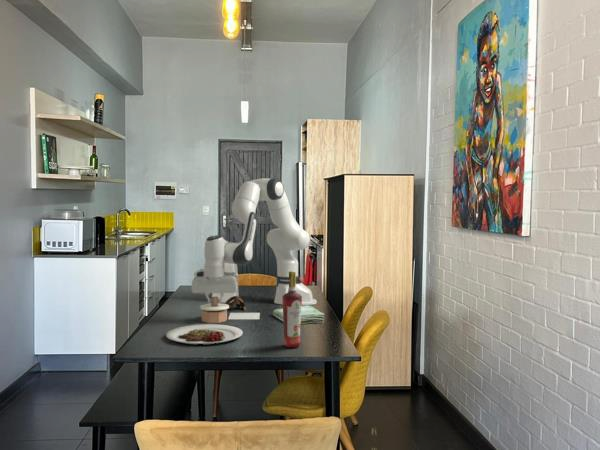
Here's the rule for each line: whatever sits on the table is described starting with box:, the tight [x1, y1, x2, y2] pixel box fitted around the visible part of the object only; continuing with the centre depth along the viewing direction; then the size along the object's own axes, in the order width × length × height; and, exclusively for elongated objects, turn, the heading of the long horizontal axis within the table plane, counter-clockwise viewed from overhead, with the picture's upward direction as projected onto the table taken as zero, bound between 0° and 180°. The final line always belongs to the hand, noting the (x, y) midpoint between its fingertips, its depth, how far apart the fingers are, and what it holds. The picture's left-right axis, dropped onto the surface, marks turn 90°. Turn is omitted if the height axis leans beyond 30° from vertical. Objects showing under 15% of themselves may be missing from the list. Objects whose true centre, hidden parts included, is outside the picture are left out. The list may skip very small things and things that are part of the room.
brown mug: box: [224, 296, 247, 311], centre depth 276 cm, size 12×10×8 cm
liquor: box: [282, 271, 303, 349], centre depth 210 cm, size 7×7×28 cm
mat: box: [227, 312, 261, 320], centre depth 261 cm, size 14×14×1 cm
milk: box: [211, 263, 240, 304], centre depth 301 cm, size 12×12×26 cm
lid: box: [199, 296, 230, 311], centre depth 252 cm, size 13×13×5 cm
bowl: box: [201, 309, 228, 324], centre depth 252 cm, size 11×11×5 cm
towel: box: [272, 305, 325, 325], centre depth 257 cm, size 18×21×5 cm
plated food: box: [165, 323, 244, 345], centre depth 224 cm, size 30×30×3 cm
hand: (214, 303), depth 252 cm, fingers closed on lid, 3 cm apart
